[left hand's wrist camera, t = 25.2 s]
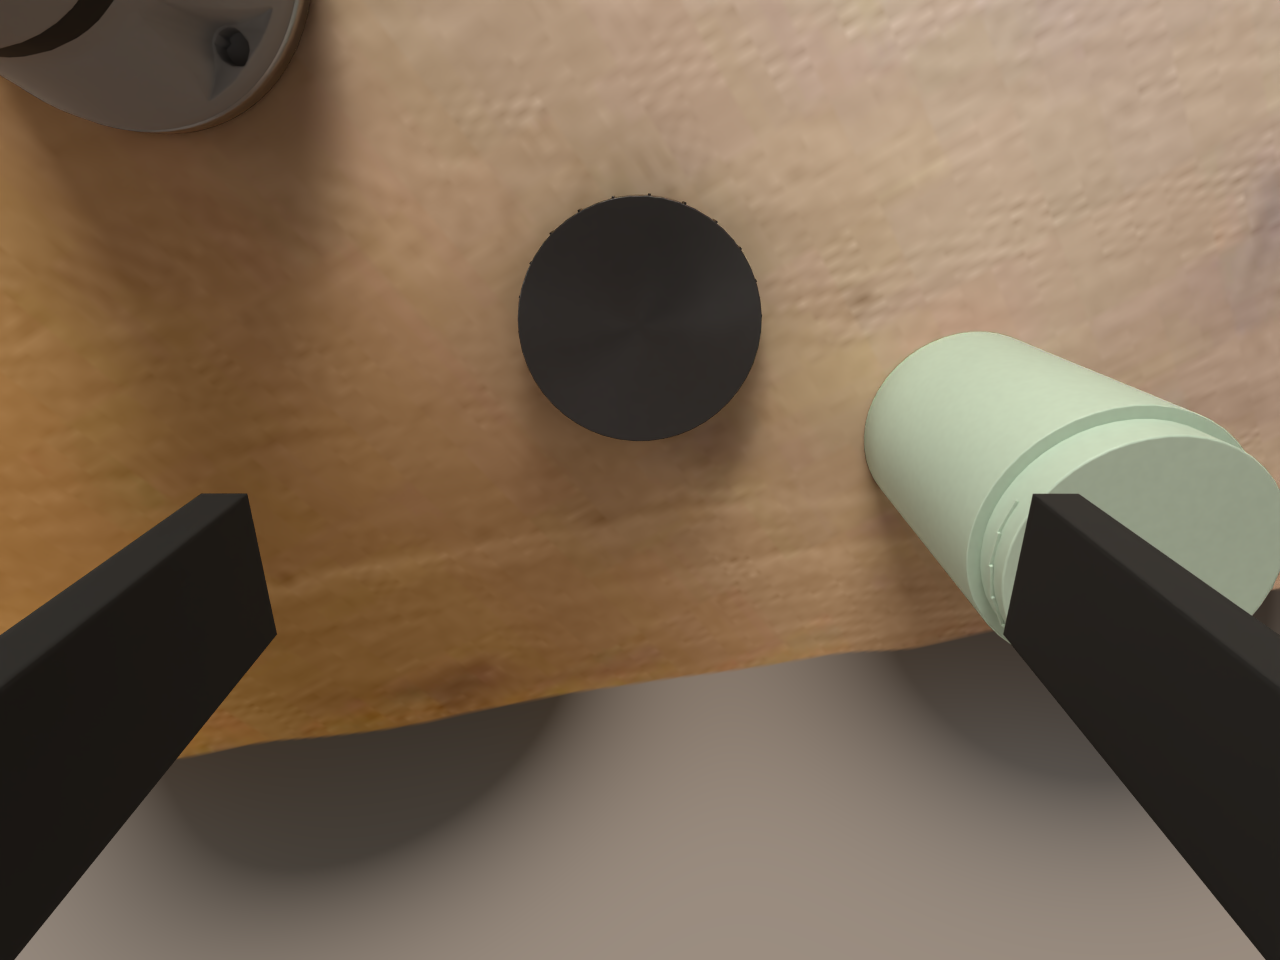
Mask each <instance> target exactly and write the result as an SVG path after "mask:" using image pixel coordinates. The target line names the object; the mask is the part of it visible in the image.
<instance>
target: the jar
mask: <svg viewBox="0 0 1280 960" xmlns="http://www.w3.org/2000/svg"><path fill="white" fill-rule="evenodd" d="M864 450H865V455H866V461H867V464H868V467H869V470H870V472H871V474H872V476H873V478H874V480H875V482H876V483H877V485H878V486H879V487H880V489H881V490H882V491H883V493H884V494H885V495H886V496H887V498H888V499H889V500H890V502H891V503H892V504H893V505H894V507H895V508H896V509H897V510H898V512H899V513H900V514H901V515H902V517H903V518H904V519H905V521H906V522H907V523H908V524H909V526H910V527H911V528H912V529H913V531H914V532H915V533H916V534H917V536H918V537H919V538H920V540H921V541H922V542H923V543H924V545H925V546H926V547H927V548H928V550H929V551H930V552H931V553H932V555H933V556H934V557H935V558H936V560H937V561H938V562H939V564H940V565H941V566H942V567H943V569H944V570H945V571H946V572H947V574H948V575H949V576H950V577H951V579H952V580H953V581H954V583H955V584H956V585H957V586H958V588H959V589H960V590H961V591H962V593H963V594H964V595H965V596H966V598H967V599H968V600H969V602H970V603H971V604H972V605H973V607H974V608H975V609H976V610H977V612H978V613H979V614H980V615H981V617H982V618H983V619H984V621H985V622H986V623H987V624H988V625H989V626H990V627H991V628H992V629H993V630H994V631H995V632H996V633H997V634H998V635H999V636H1000V637H1001V638H1003V639H1004V640H1005V641H1007V642H1008V643H1010V642H1009V641H1008V640H1007V639H1006V637H1005V636H1004V635H1003V633H1004V628H1005V623H1006V618H1007V614H1008V609H1009V604H1010V599H1011V595H1012V590H1013V585H1014V580H1015V576H1016V571H1017V566H1018V561H1019V557H1020V552H1021V547H1022V542H1023V538H1024V533H1025V528H1026V524H1027V519H1028V514H1029V509H1030V505H1031V500H1032V495H1033V494H1080V495H1081V496H1083V497H1084V498H1086V499H1087V500H1088V501H1090V502H1091V503H1093V504H1094V505H1096V506H1097V507H1098V508H1100V509H1101V510H1103V511H1104V512H1105V513H1107V514H1108V515H1110V516H1111V517H1113V518H1114V519H1115V520H1117V521H1118V522H1120V523H1121V524H1123V525H1124V526H1125V527H1127V528H1128V529H1130V530H1131V531H1132V532H1134V533H1135V534H1137V535H1138V536H1140V537H1141V538H1142V539H1144V540H1145V541H1147V542H1148V543H1149V544H1151V545H1152V546H1154V547H1155V548H1157V549H1158V550H1159V551H1161V552H1162V553H1164V554H1165V555H1167V556H1168V557H1169V558H1171V559H1172V560H1174V561H1175V562H1176V563H1178V564H1179V565H1181V566H1182V567H1184V568H1185V569H1186V570H1188V571H1189V572H1191V573H1192V574H1193V575H1195V576H1196V577H1198V578H1199V579H1201V580H1202V581H1203V582H1205V583H1206V584H1208V585H1209V586H1211V587H1212V588H1213V589H1215V590H1216V591H1218V592H1219V593H1220V594H1222V595H1223V596H1225V597H1226V598H1228V599H1229V600H1230V601H1232V602H1233V603H1235V604H1236V605H1237V606H1239V607H1240V608H1242V609H1243V610H1245V611H1246V612H1247V613H1249V614H1250V615H1253V614H1254V613H1255V611H1256V610H1257V609H1258V608H1259V607H1260V605H1261V604H1262V602H1263V601H1264V599H1265V598H1266V596H1267V595H1268V593H1269V592H1270V590H1271V589H1272V588H1273V586H1274V583H1275V580H1276V578H1277V576H1278V574H1279V572H1280V490H1279V488H1278V486H1277V484H1276V482H1275V480H1274V479H1273V478H1272V476H1271V475H1270V474H1269V473H1268V471H1267V470H1266V469H1265V467H1263V466H1262V465H1261V464H1260V463H1259V462H1258V461H1257V460H1256V459H1255V458H1254V457H1252V456H1251V455H1249V454H1248V453H1246V452H1245V451H1244V450H1243V448H1242V447H1241V446H1240V444H1239V443H1238V442H1237V440H1236V439H1235V438H1234V437H1233V436H1231V435H1230V434H1229V433H1228V432H1227V431H1226V430H1225V429H1224V428H1222V427H1221V426H1219V425H1218V424H1216V423H1215V422H1213V421H1212V420H1210V419H1208V418H1206V417H1204V416H1201V415H1199V414H1197V413H1195V412H1192V411H1190V410H1187V409H1185V408H1182V407H1180V406H1178V405H1175V404H1173V403H1170V402H1168V401H1165V400H1163V399H1161V398H1158V397H1156V396H1153V395H1151V394H1148V393H1146V392H1144V391H1141V390H1139V389H1136V388H1134V387H1131V386H1129V385H1127V384H1124V383H1122V382H1119V381H1117V380H1114V379H1112V378H1110V377H1107V376H1105V375H1102V374H1100V373H1097V372H1095V371H1092V370H1090V369H1088V368H1085V367H1083V366H1080V365H1078V364H1075V363H1073V362H1071V361H1068V360H1066V359H1063V358H1061V357H1058V356H1056V355H1054V354H1051V353H1049V352H1046V351H1044V350H1041V349H1039V348H1037V347H1034V346H1032V345H1029V344H1027V343H1024V342H1022V341H1019V340H1017V339H1015V338H1012V337H1009V336H1006V335H1002V334H998V333H991V332H967V333H959V334H955V335H951V336H947V337H944V338H941V339H939V340H936V341H934V342H931V343H929V344H927V345H926V346H924V347H922V348H920V349H918V350H917V351H915V352H914V353H913V354H911V355H910V356H908V357H907V358H906V359H905V360H904V361H902V362H901V363H900V364H899V365H898V366H897V367H896V368H895V369H894V370H893V371H892V372H891V373H890V375H889V376H888V377H887V378H886V380H885V381H884V382H883V384H882V385H881V387H880V388H879V390H878V392H877V394H876V395H875V397H874V399H873V401H872V404H871V407H870V409H869V412H868V416H867V420H866V424H865V432H864Z"/></svg>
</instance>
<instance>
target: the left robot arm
mask: <svg viewBox="0 0 1280 960" xmlns="http://www.w3.org/2000/svg"><path fill="white" fill-rule="evenodd" d="M309 5H310V0H0V75H1V76H2V77H4V78H6V79H7V80H9V81H11V82H12V83H14V84H16V85H18V86H19V87H21V88H22V89H24V90H25V91H27V92H29V93H30V94H32V95H34V96H35V97H37V98H39V99H40V100H42V101H44V102H46V103H48V104H50V105H52V106H54V107H56V108H58V109H60V110H63V111H65V112H67V113H70V114H72V115H75V116H78V117H81V118H84V119H87V120H90V121H93V122H96V123H99V124H101V125H105V126H110V127H114V128H118V129H124V130H131V131H138V132H147V133H162V134H176V133H188V132H194V131H199V130H204V129H207V128H210V127H213V126H217V125H219V124H222V123H224V122H226V121H228V120H231V119H233V118H235V117H236V116H238V115H239V114H241V113H243V112H244V111H246V110H247V109H249V108H250V107H251V106H253V105H254V104H255V103H256V102H258V101H259V100H260V99H261V98H262V97H263V96H264V95H265V94H266V93H267V92H268V91H269V90H270V89H271V88H272V87H273V85H274V84H275V83H276V82H277V80H278V79H279V78H280V76H281V75H282V74H283V72H284V70H285V69H286V67H287V65H288V64H289V62H290V61H291V58H292V56H293V54H294V52H295V50H296V48H297V46H298V43H299V41H300V38H301V35H302V32H303V29H304V26H305V22H306V18H307V14H308V10H309ZM276 635H277V633H276V628H275V623H274V618H273V614H272V609H271V604H270V599H269V595H268V590H267V585H266V580H265V576H264V571H263V566H262V561H261V557H260V552H259V547H258V543H257V538H256V533H255V528H254V524H253V519H252V514H251V509H250V505H249V500H248V495H247V494H200V495H199V496H197V497H196V498H194V499H193V500H192V501H190V502H189V503H187V504H186V505H184V506H183V507H182V508H180V509H179V510H177V511H176V512H175V513H173V514H172V515H170V516H169V517H167V518H166V519H165V520H163V521H162V522H160V523H159V524H157V525H156V526H155V527H153V528H152V529H150V530H149V531H148V532H146V533H145V534H143V535H142V536H140V537H139V538H138V539H136V540H135V541H133V542H132V543H131V544H129V545H128V546H126V547H125V548H123V549H122V550H121V551H119V552H118V553H116V554H115V555H113V556H112V557H111V558H109V559H108V560H106V561H105V562H104V563H102V564H101V565H99V566H98V567H96V568H95V569H94V570H92V571H91V572H89V573H88V574H87V575H85V576H84V577H82V578H81V579H79V580H78V581H77V582H75V583H74V584H72V585H71V586H69V587H68V588H67V589H65V590H64V591H62V592H61V593H60V594H58V595H57V596H55V597H54V598H52V599H51V600H50V601H48V602H47V603H45V604H44V605H43V606H41V607H40V608H38V609H37V610H35V611H34V612H33V613H31V614H30V615H28V616H27V617H25V618H24V619H23V620H21V621H20V622H18V623H17V624H16V625H14V626H13V627H11V628H10V629H8V630H7V631H6V632H4V633H3V634H1V635H0V960H14V959H15V958H16V957H17V956H18V954H19V953H20V952H21V951H22V950H23V948H24V947H25V946H26V945H27V943H28V942H29V941H30V940H31V938H32V937H33V936H34V935H35V933H36V932H37V931H38V930H39V928H40V927H41V926H42V925H43V923H44V922H45V921H46V920H47V919H48V917H49V916H50V915H51V914H52V912H53V911H54V910H55V909H56V907H57V906H58V905H59V904H60V902H61V901H62V900H63V899H64V897H65V896H66V895H67V894H68V893H69V891H70V890H71V889H72V888H73V886H74V885H75V884H76V883H77V881H78V880H79V879H80V878H81V876H82V875H83V874H84V873H85V871H86V870H87V869H88V868H89V866H90V865H91V864H92V863H93V862H94V860H95V859H96V858H97V857H98V855H99V854H100V853H101V852H102V850H103V849H104V848H105V847H106V845H107V844H108V843H109V842H110V840H111V839H112V838H113V837H114V836H115V834H116V833H117V832H118V831H119V829H120V828H121V827H122V826H123V824H124V823H125V822H126V821H127V819H128V818H129V817H130V816H131V814H132V813H133V812H134V811H135V810H136V808H137V807H138V806H139V805H140V803H141V802H142V801H143V800H144V798H145V797H146V796H147V795H148V793H149V792H150V791H151V790H152V788H153V787H154V786H155V785H156V784H157V782H158V781H159V780H160V779H161V777H162V776H163V775H164V774H165V772H166V771H167V770H168V769H169V767H170V766H171V765H172V764H173V762H174V761H175V760H176V759H177V757H178V756H179V755H180V754H181V753H182V751H183V750H184V749H185V748H186V746H187V745H188V744H189V743H190V741H191V740H192V739H193V738H194V736H195V735H196V734H197V733H198V731H199V730H200V729H201V728H202V727H203V725H204V724H205V723H206V722H207V720H208V719H209V718H210V717H211V715H212V714H213V713H214V712H215V710H216V709H217V708H218V707H219V705H220V704H221V703H222V702H223V700H224V699H225V698H226V697H227V696H228V694H229V693H230V692H231V691H232V689H233V688H234V687H235V686H236V684H237V683H238V682H239V681H240V679H241V678H242V677H243V676H244V674H245V673H246V672H247V671H248V670H249V668H250V667H251V666H252V665H253V663H254V662H255V661H256V660H257V658H258V657H259V656H260V655H261V653H262V652H263V651H264V650H265V648H266V647H267V646H268V645H269V644H270V642H271V641H272V640H273V639H274V637H275V636H276ZM1003 635H1004V636H1005V637H1006V639H1007V640H1008V641H1009V642H1010V644H1011V645H1012V646H1013V647H1014V648H1015V650H1016V651H1017V652H1018V653H1019V655H1020V656H1021V657H1022V658H1023V660H1024V661H1025V662H1026V663H1027V664H1028V666H1029V667H1030V668H1031V670H1032V671H1033V672H1034V673H1035V674H1036V676H1037V677H1038V678H1039V679H1040V681H1041V682H1042V683H1043V684H1044V686H1045V687H1046V688H1047V689H1048V691H1049V692H1050V693H1051V694H1052V696H1053V697H1054V698H1055V699H1056V700H1057V702H1058V703H1059V704H1060V705H1061V707H1062V708H1063V709H1064V710H1065V712H1066V713H1067V714H1068V715H1069V717H1070V718H1071V719H1072V720H1073V722H1074V723H1075V724H1076V725H1077V727H1078V728H1079V729H1080V730H1081V731H1082V733H1083V734H1084V735H1085V736H1086V738H1087V739H1088V740H1089V741H1090V743H1091V744H1092V745H1093V746H1094V748H1095V749H1096V750H1097V751H1098V753H1099V754H1100V755H1101V756H1102V757H1103V759H1104V760H1105V761H1106V762H1107V764H1108V765H1109V766H1110V767H1111V769H1112V770H1113V771H1114V772H1115V774H1116V775H1117V776H1118V777H1119V779H1120V780H1121V781H1122V782H1123V784H1124V785H1125V786H1126V787H1127V788H1128V790H1129V791H1130V792H1131V793H1132V795H1133V796H1134V797H1135V798H1136V800H1137V801H1138V802H1139V803H1140V805H1141V806H1142V807H1143V808H1144V810H1145V811H1146V812H1147V813H1148V814H1149V816H1150V817H1151V818H1152V819H1153V821H1154V822H1155V823H1156V824H1157V826H1158V827H1159V828H1160V829H1161V831H1162V832H1163V833H1164V834H1165V835H1166V837H1167V838H1168V839H1169V840H1170V842H1171V843H1172V844H1173V845H1174V847H1175V848H1176V849H1177V850H1178V852H1179V853H1180V854H1181V855H1182V857H1183V858H1184V859H1185V860H1186V861H1187V863H1188V864H1189V865H1190V866H1191V868H1192V869H1193V870H1194V871H1195V873H1196V874H1197V875H1198V876H1199V878H1200V879H1201V880H1202V881H1203V883H1204V884H1205V885H1206V886H1207V887H1208V889H1209V890H1210V891H1211V893H1212V894H1213V895H1214V896H1215V897H1216V899H1217V900H1218V901H1219V902H1220V904H1221V905H1222V906H1223V907H1224V909H1225V910H1226V911H1227V912H1228V914H1229V915H1230V916H1231V917H1232V919H1233V920H1234V921H1235V922H1236V923H1237V925H1238V926H1239V927H1240V928H1241V930H1242V931H1243V932H1244V933H1245V935H1246V936H1247V937H1248V938H1249V940H1250V941H1251V942H1252V943H1253V945H1254V946H1255V947H1256V948H1257V949H1258V951H1259V952H1260V953H1261V954H1262V956H1263V957H1264V958H1265V959H1266V960H1280V635H1279V634H1277V633H1276V632H1274V631H1273V630H1272V629H1270V628H1269V627H1267V626H1266V625H1264V624H1263V623H1262V622H1260V621H1259V620H1257V619H1256V618H1254V617H1253V616H1252V615H1250V614H1249V613H1247V612H1246V611H1245V610H1243V609H1242V608H1240V607H1239V606H1237V605H1236V604H1235V603H1233V602H1232V601H1230V600H1229V599H1228V598H1226V597H1225V596H1223V595H1222V594H1220V593H1219V592H1218V591H1216V590H1215V589H1213V588H1212V587H1211V586H1209V585H1208V584H1206V583H1205V582H1203V581H1202V580H1201V579H1199V578H1198V577H1196V576H1195V575H1193V574H1192V573H1191V572H1189V571H1188V570H1186V569H1185V568H1184V567H1182V566H1181V565H1179V564H1178V563H1176V562H1175V561H1174V560H1172V559H1171V558H1169V557H1168V556H1167V555H1165V554H1164V553H1162V552H1161V551H1159V550H1158V549H1157V548H1155V547H1154V546H1152V545H1151V544H1149V543H1148V542H1147V541H1145V540H1144V539H1142V538H1141V537H1140V536H1138V535H1137V534H1135V533H1134V532H1132V531H1131V530H1130V529H1128V528H1127V527H1125V526H1124V525H1123V524H1121V523H1120V522H1118V521H1117V520H1115V519H1114V518H1113V517H1111V516H1110V515H1108V514H1107V513H1105V512H1104V511H1103V510H1101V509H1100V508H1098V507H1097V506H1096V505H1094V504H1093V503H1091V502H1090V501H1088V500H1087V499H1086V498H1084V497H1083V496H1081V495H1080V494H1033V495H1032V500H1031V505H1030V509H1029V514H1028V519H1027V524H1026V528H1025V533H1024V538H1023V542H1022V547H1021V552H1020V557H1019V561H1018V566H1017V571H1016V576H1015V580H1014V585H1013V590H1012V595H1011V599H1010V604H1009V609H1008V614H1007V618H1006V623H1005V628H1004V633H1003Z"/></svg>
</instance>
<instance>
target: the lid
mask: <svg viewBox="0 0 1280 960" xmlns="http://www.w3.org/2000/svg"><path fill="white" fill-rule="evenodd" d="M741 250H742V248H741V247H739V246H738V245H737V244H736V243H735V241H734V240H733V239H732V238H731V237H730V236H729V235H728V233H727V232H726V231H725V230H724V229H723V228H722V227H720V226H719V225H718V224H717V221H716V220H714V219H713V220H712V219H711V218H709V217H708V216H706V215H704V214H703V213H701V212H699V211H698V210H696V209H694V208H692V207H690V206H687V205H686V202H682V203H680V202H678V201H675V200H671V199H667V198H664V197H658V196H651V194H650V193H648V195H629V196H622V197H616V198H615V196H612V199H608V200H605V201H602V202H599V203H596V204H594V205H592V206H590V207H588V208H586V209H579V210H578V213H577V214H575V215H573V216H572V217H570V218H569V219H567V220H566V221H565V222H564V223H563V224H561V225H560V226H559V227H558V228H557V229H556V230H554V231H552V232H550V236H549V237H548V238H547V239H546V241H545V242H544V243H543V244H542V246H541V247H540V249H539V250H538V252H537V253H536V255H535V256H534V258H533V260H532V261H531V262H530V263H529V264H530V266H529V268H528V271H527V273H526V276H525V279H524V282H523V285H522V289H521V294H520V296H519V298H520V299H519V308H518V328H519V331H518V332H519V338H520V342H521V347H522V352H523V355H524V357H525V360H526V363H527V366H528V368H529V370H530V372H531V374H532V376H533V378H534V380H535V382H536V383H537V385H538V386H539V388H540V389H541V391H542V392H543V394H544V395H545V396H546V397H547V398H548V399H549V400H550V402H551V403H552V404H553V405H554V406H555V407H556V408H557V409H559V410H560V411H561V412H562V413H563V414H564V415H565V416H567V417H568V418H570V419H571V420H573V421H574V422H575V423H577V424H579V425H581V426H583V427H585V428H586V429H588V430H590V431H593V432H596V433H598V434H601V435H604V436H607V437H612V438H616V439H621V440H630V441H650V440H658V439H664V438H668V437H672V436H676V435H679V434H681V433H684V432H686V431H689V430H691V429H693V428H695V427H697V426H699V425H700V424H702V423H704V422H706V421H707V420H708V419H710V418H711V417H712V416H714V415H715V414H717V413H718V412H719V411H720V410H721V409H722V408H723V407H724V406H725V405H726V404H727V403H728V402H729V401H730V400H731V399H732V398H733V396H734V395H735V394H736V393H737V391H738V390H739V389H740V387H741V385H742V384H743V382H744V381H745V379H746V377H747V375H748V373H749V371H750V369H751V367H752V365H753V362H754V359H755V356H756V353H757V349H758V345H759V339H760V334H761V318H762V314H761V303H760V297H759V292H758V287H757V283H756V282H757V280H756V279H755V278H754V275H753V272H752V269H751V267H750V265H749V263H748V262H747V260H746V258H745V256H744V254H743V252H742V251H741Z"/></svg>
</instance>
